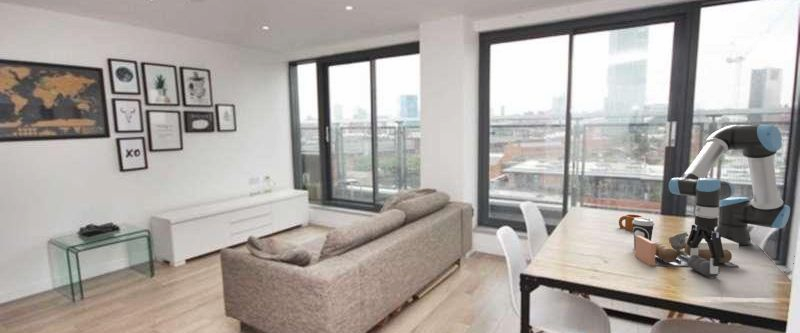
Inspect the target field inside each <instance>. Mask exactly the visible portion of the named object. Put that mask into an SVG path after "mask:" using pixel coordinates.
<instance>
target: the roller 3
mask: <svg viewBox="0 0 800 333" xmlns="http://www.w3.org/2000/svg"><path fill="white" fill-rule="evenodd" d="M688 266H689V267H688V268H690V269H692V270H694V271H695V272H697V273H699V274H701V275H703V276H704V277H706V278H708V279H713V278H716V277H718V275H719V273H720V271H721V270H720V269H721V268H720V267H718V274H710V261H708V260H706V259H704V258H702V257H699V256H697V255H694V256H691V257H690V258H689V259H688Z"/></svg>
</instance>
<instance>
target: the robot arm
mask: <svg viewBox="0 0 800 333" xmlns="http://www.w3.org/2000/svg"><path fill="white" fill-rule="evenodd" d="M782 138H783V137H782V132H781V130H780V129H779V128H778V127H777V126H775V125H773V124H764V123H763V124H744V125H743V124H739V125H738V124H733V125H728V126H725V127H723V128H720V129H719V130H716V131H714V132H713V133H712V134H710V135H709V136H708V137H707V138H706V140H705V141H704V142H703V147H702V149H701V150H700V152H699V153H698V154H697V155H696V157H695V158H694V159H693V160H692V161H691V163H690V164H689V166H688V167H687V168H686V170H685V171H684V173H683V174H681V176H680V177H673V178H670V180H669V182H668V190H669V192H670V193H671V194H674V195H679V196H688V197H695V208H694V209H695V211H694V213H695V216H694V224H691V228H690V229H691V230H690V233H689V234H688V237H689V238H688V241H687V245H689V247H690V257H691V256H694V255H697V256H698V248H699V247H698V245H699V244H700V242H701V241H702V239H705V241H706V242H707V243H708V246H709V249H710V252H711V255H712V256H711V257H710V274H718V266H719V259H720V258H724V252H723V247H722V242H721V237H723V238H726V239H728V240H731V241H734V242H736V243H739V246H749V245H751V243H752V238H751V235H750V233H749V230H748V225H752V226H757V227H758V226H759V227H765V228H770V229H783V228H785V227H786V225H787V223H788V222H789V218H790V214H791V207H790V206H789V205H787V204H784V200H783V199H782V198H781V197H779V194H778V193H779V192H778V186H777V178H776V172H775V171H776V170H775V163H774V156H775V155H776V154H777V151H779V150H780V149H781V147H782V145H783V142H782V140H783V139H782ZM733 150H734V151H742V155H743V157H745V158H747V160H748V167H749V175H750V180H751V187H752V194H753V198H751V199H750V197H747V196H733V195H734V193H735V186H734V185H733V184H732V183H731V182H729V181H727V180H720V179H718V178H711V177H707V175H708V174H709V172H710V171H711V170H712V168H713V167H714V166H715V164H716V163H717V162H718V160H719V159H720V158H721V156H722V155H724V154H727V152H728V151H733ZM711 238H712V239H711ZM720 254H721V255H720ZM718 275H719V274H718Z"/></svg>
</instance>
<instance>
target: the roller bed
mask: <svg viewBox="0 0 800 333" xmlns="http://www.w3.org/2000/svg"><path fill="white" fill-rule="evenodd" d="M689 258H690V256H689V255H687V254H677V258H676V260H675V261H673V262H666V261H664V260H663V259H661V258H659V257H657V256H656V255H655V266H654V267H684V268H686V267H688V268H690V267H689V266H688V259H689ZM718 267H719V268H739V265H737V264H735V263H733V262H730V261H729V262H727V263H721V262H719V266H718Z"/></svg>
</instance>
